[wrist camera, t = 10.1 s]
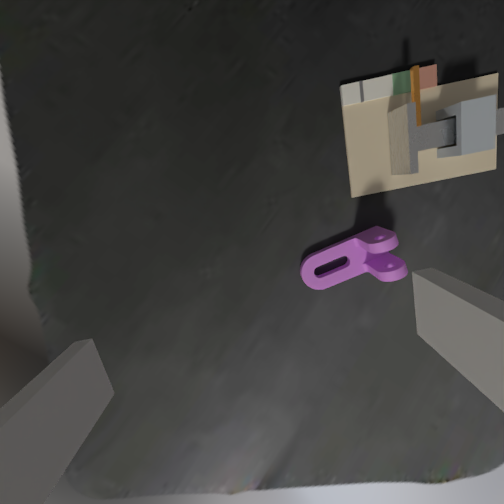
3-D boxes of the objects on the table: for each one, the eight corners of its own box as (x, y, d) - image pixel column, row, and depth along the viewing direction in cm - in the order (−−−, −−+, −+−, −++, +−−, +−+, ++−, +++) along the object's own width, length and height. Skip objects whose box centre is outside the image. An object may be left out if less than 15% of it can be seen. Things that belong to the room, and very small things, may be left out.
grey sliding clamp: (385, 79, 35) (404, 64, 31) (492, 56, 34) (528, 37, 30) (391, 175, 38) (410, 174, 33) (490, 155, 37) (523, 151, 33)
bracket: (376, 225, 40) (401, 234, 34) (387, 258, 42) (413, 273, 35) (294, 260, 42) (302, 275, 35) (307, 291, 43) (318, 312, 36)
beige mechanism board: (339, 86, 36) (353, 72, 31) (496, 52, 35) (534, 32, 30) (351, 197, 39) (365, 199, 34) (494, 169, 38) (527, 167, 34)
